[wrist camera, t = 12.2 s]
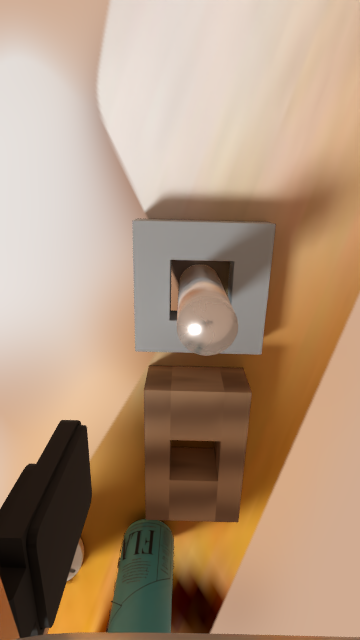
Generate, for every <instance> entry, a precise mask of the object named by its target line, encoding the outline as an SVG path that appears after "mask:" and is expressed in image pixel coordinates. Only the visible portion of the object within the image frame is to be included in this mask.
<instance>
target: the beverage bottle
mask: <svg viewBox="0 0 360 640" xmlns="http://www.w3.org/2000/svg"><path fill="white" fill-rule="evenodd" d="M124 534H125V535H123V536H124V540H123V539H122V540H123V542H122V543H123V544H122V545H123V546H121V547H122V552H121V550H120V552H121V558H120V559H119V561H120V562H119V561H118V567H117V568H119V569H118V575H117V580H116V583H114V584H116V585H115V586H114V589H115V592H114V598H113V601H111V602H113V603H112V609H110V610H111V615H110V614H109V616H110V619H109V620H110V621H109V620H108V621H109V623H108V624H109V626H108V624H107V626H108V628H106V631H107V630H108V632H106V633H171V602H172V601H171V598H173V597H172V581H173V562H174V561H173V557H174V556H173V554H175V553H174V552H173V550H174V538H173V534H172V531H171V530H170V528H169V527H168V526H167V525H166V524H164V523H163V522H161V521H158V520H146V519H141V520H138V521H136V522H134V523H132V524H131V525H130V526H129V527H128V529H127V531H126V533H124ZM119 556H120V555H119ZM109 613H110V611H109Z"/></svg>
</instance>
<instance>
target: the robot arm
mask: <svg viewBox="0 0 360 640" xmlns="http://www.w3.org/2000/svg"><path fill="white" fill-rule="evenodd" d="M91 497H92V488H91V475H90V462H89V449H88V437H87V427H86V426H85V425H84V426H83V425H81V422H80V421H78V420H61V421H60V423H59V424H58V426H57V428H56V430H55V431H54V433H53V435H52V437H51V439H50V440H49V442H48V444H47V446H46V448H45V449H44V451H43V453H42V455H41V457H40V458H39V460H38V462H37V464H29V465H27V466H26V467H25V469H24V470H23V472H22V473H21V475H20V477H19V478H18V480H17V482H16V483H15V485H14V487H13V488H12V490H11V492H10V493H9V495H8V497H7V499H6V500H5V502H4V503H3V505H2V507H1V509H0V640H360V637H325V636H285V635H244V634H243V635H242V634H192V633H63V634H47V633H48V630H49V628H51V627H52V625H53V623H54V621H55V618H56V614H57V611H58V608H59V605H60V601H61V598H62V595H63V591H64V588H65V585H66V582H67V581H68V580H70V579H71V578H73V577H74V576H75V575H76V574H77V573H78V571H79V569H80V568H81V565H82V561H83V558H84V545H83V542H82V540H81V538H80V536H81V533H82V530H83V526H84V523H85V520H86V517H87V513H88V510H89V507H90V503H91Z"/></svg>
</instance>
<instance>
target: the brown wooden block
mask: <svg viewBox="0 0 360 640" xmlns="http://www.w3.org/2000/svg"><path fill="white" fill-rule="evenodd" d="M251 396H252V392H251V389H250V386H249V383H248V381H247V378H246V375H245V372H244V369H243V368H225V367H186V366H149V369H148V373H147V378H146V383H145V388H144V430H145V505H146V520H173V521H211V522H238V519H239V510H240V500H241V491H242V481H243V472H244V462H245V453H246V443H247V434H248V424H249V415H250V405H251ZM171 440H191V441H215V442H214V448H184V447H171Z"/></svg>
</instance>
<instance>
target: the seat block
mask: <svg viewBox="0 0 360 640" xmlns="http://www.w3.org/2000/svg"><path fill="white" fill-rule="evenodd" d="M275 227H276V224H274V223H270V222H252V221H211V220H170V219H135V220H133V263H134V309H135V351H143V352H182V353H193V352H191V351H190V350H188V349H187V348H186V347H185V346H184V345H183V344H182V343H181V341H180V339H179V337H178V334H177V311H171V260H202V261H230V267H229V281H228V295H227V296H228V299H229V301H230V303H231V305H232V307H233V310H234V312H235V314H236V316H237V320H238V333H237V336H236V338H235V340H234V342H233V343H232V344H231V345H230V346H229V347H228V348H227V349H226V350H224V351H223V352H221V354H261V353H262V344H263V335H264V326H265V317H266V308H267V299H268V290H269V281H270V272H271V263H272V254H273V245H274V236H275Z"/></svg>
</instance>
